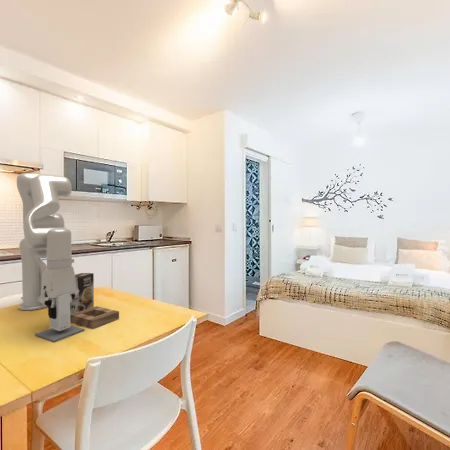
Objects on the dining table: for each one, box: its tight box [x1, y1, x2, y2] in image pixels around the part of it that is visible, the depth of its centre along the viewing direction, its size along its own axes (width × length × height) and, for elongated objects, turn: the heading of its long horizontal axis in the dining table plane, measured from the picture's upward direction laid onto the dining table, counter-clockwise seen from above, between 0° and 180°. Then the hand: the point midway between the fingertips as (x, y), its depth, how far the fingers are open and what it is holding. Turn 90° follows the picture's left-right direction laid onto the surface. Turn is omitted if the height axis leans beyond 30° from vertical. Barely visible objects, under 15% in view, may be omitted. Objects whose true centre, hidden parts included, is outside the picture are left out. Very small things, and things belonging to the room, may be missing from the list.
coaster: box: [34, 324, 85, 343], centre depth 101 cm, size 11×11×1 cm
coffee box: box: [70, 272, 95, 314], centre depth 123 cm, size 9×6×16 cm
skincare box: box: [49, 294, 71, 331], centre depth 101 cm, size 6×4×12 cm
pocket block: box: [70, 306, 120, 330], centre depth 113 cm, size 14×12×3 cm
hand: (59, 315), depth 101 cm, fingers closed on skincare box, 4 cm apart
